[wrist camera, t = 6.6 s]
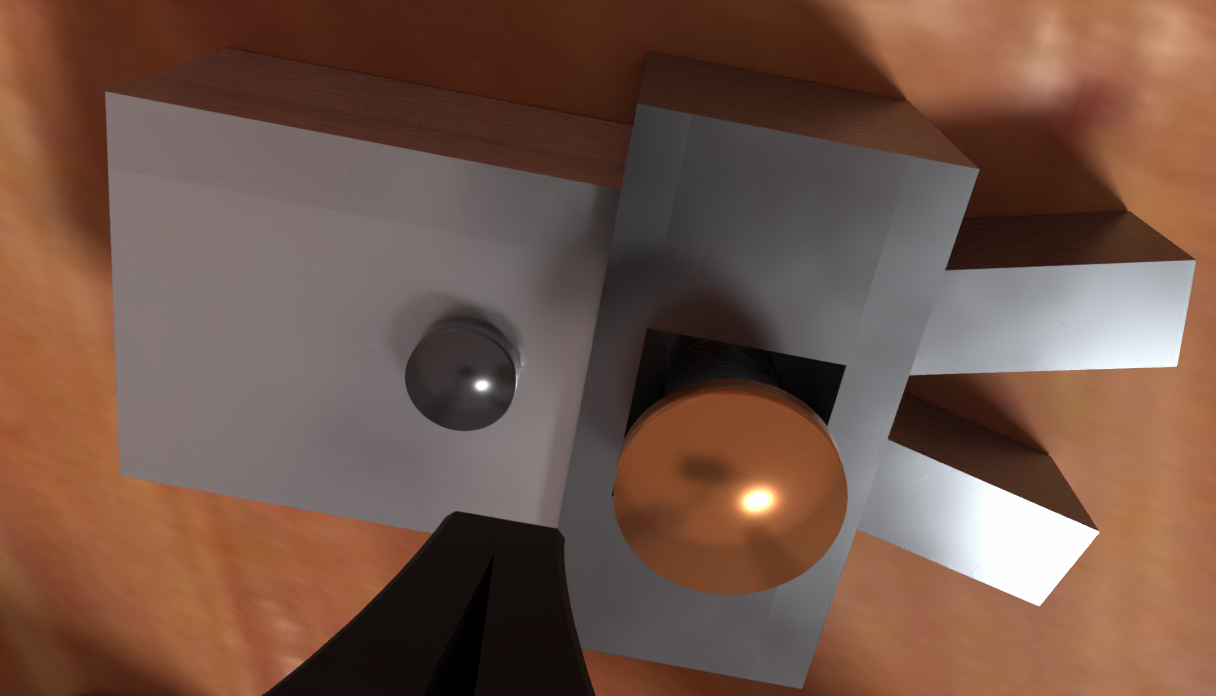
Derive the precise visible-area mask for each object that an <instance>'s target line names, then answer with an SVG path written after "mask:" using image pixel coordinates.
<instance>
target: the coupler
mask: <svg viewBox="0 0 1216 696" xmlns="http://www.w3.org/2000/svg"><path fill="white" fill-rule="evenodd" d="M979 170H980V169H979V168H978V167H977V166H976V165H975V164H974V163H973V162H971V161H970V160H969V159H968V158H967V157H966V156H965V155H964V154H963V153H962V152H961V151H960V150H959V149H958V148H957V147H956V146H955V145H954V144H953V143H952V142H951V141H950V140H949V139H948V138H947V137H945V136H944V135H943V134H942V133H941V132H940V131H939V130H938V129H937V128H936V127H935V126H934V125H933V124H932V123H931V122H930V121H929V120H928V119H927V118H926V117H925V116H924V115H923V114H922V113H920V112H919V111H918V110H917V109H916V108H915V107H914V106H913V105H912V104H911V103H910V102H909V101H906V100H901V99H896V98H891V97H885V96H880V95H875V94H870V93H865V92H859V91H854V90H849V89H844V88H839V87H833V86H828V85H823V84H818V83H813V82H807V81H802V80H797V79H792V78H787V77H781V76H776V75H771V74H766V73H761V72H755V71H750V70H745V69H740V68H735V67H729V66H724V65H719V64H714V63H709V62H703V61H698V60H693V59H688V58H683V57H678V56H672V55H667V54H662V53H657V52H652V51H648V53H647V58H646V63H645V68H644V73H643V78H642V83H641V88H640V93H639V98H638V103H637V108H636V113H635V119H634V124H633V129H632V135H631V140H630V145H629V151H628V156H627V161H626V167H625V172H624V177H623V183H622V188H621V193H620V199H619V204H618V209H617V215H616V220H615V226H614V231H613V236H612V242H611V247H610V252H609V258H608V263H607V268H606V274H605V279H604V284H603V290H602V295H601V300H600V306H599V311H598V316H597V322H596V327H595V332H594V338H593V343H592V348H591V354H590V359H589V364H588V370H587V375H586V380H585V386H584V391H583V397H582V402H581V407H580V413H579V418H578V423H577V429H576V434H575V439H574V445H573V450H572V455H571V461H570V466H569V471H568V477H567V482H566V487H565V493H564V498H563V503H562V509H561V514H560V519H559V525H558V530H559V531H560V532H561V534H562V535H563V536H564V537H565V545H564V558H565V572H566V580H567V586H568V592H569V598H570V604H571V609H572V614H573V618H574V623H575V627H576V630H577V634H578V638H579V642H580V646H581V649H586V650H592V651H597V652H602V653H608V654H613V655H619V656H624V657H630V658H635V659H640V660H646V661H651V662H657V663H662V664H668V665H673V666H678V667H684V668H689V669H695V670H700V671H706V672H711V673H717V674H722V675H727V676H733V677H738V678H744V679H749V680H755V681H760V682H765V683H771V684H776V685H782V686H787V687H793V688H798V689H802V688H803V685H804V682H805V679H806V676H807V673H808V670H809V667H810V664H811V661H812V659H813V656H814V653H815V650H816V647H817V644H818V641H819V638H820V635H821V632H822V629H823V626H824V623H825V620H826V618H827V615H828V612H829V609H830V606H831V603H832V600H833V597H834V594H835V591H836V588H837V585H838V582H839V579H840V577H841V574H842V571H843V568H844V565H845V562H846V559H847V556H848V553H849V550H850V547H851V544H852V541H853V538H854V536H855V533H856V530H857V529H858V530H861V531H863V532H865V533H868V534H870V535H873V536H875V537H877V538H880V539H882V540H884V541H887V542H889V543H891V544H894V545H896V546H899V547H901V548H903V549H906V550H908V551H910V552H913V553H915V554H917V555H920V556H922V557H925V558H927V559H929V560H932V561H934V562H936V563H939V564H941V565H943V566H946V567H948V568H950V569H953V570H955V571H958V572H960V573H962V574H965V575H967V576H969V577H972V578H974V579H976V580H979V581H981V582H984V583H986V584H988V585H991V586H993V587H995V588H998V589H1000V590H1002V591H1005V592H1007V593H1010V594H1012V595H1014V596H1017V597H1019V598H1021V599H1024V600H1026V601H1028V602H1031V603H1033V604H1036V605H1038V606H1040V605H1041V603H1042V602H1043V601H1044V600H1045V598H1046V597H1047V596H1048V595H1049V593H1050V592H1051V591H1052V590H1053V589H1054V587H1055V586H1056V585H1057V584H1058V582H1059V581H1060V580H1061V579H1062V577H1063V576H1064V575H1065V574H1066V573H1067V571H1068V570H1069V569H1070V568H1071V566H1072V565H1073V564H1074V563H1075V561H1076V560H1077V559H1078V558H1079V557H1080V555H1081V554H1082V553H1083V552H1084V550H1085V549H1086V548H1087V547H1088V545H1089V544H1090V543H1091V542H1092V541H1093V539H1094V538H1095V537H1096V536H1097V534H1098V533H1099V530H1098V529H1097V527H1096V526H1095V524H1094V523H1093V521H1092V520H1091V518H1090V516H1089V515H1088V513H1087V512H1086V510H1085V509H1084V507H1083V506H1082V504H1081V502H1080V501H1079V499H1078V498H1077V496H1076V495H1075V493H1074V492H1073V490H1072V488H1071V487H1070V485H1069V484H1068V482H1067V481H1066V479H1065V478H1064V476H1063V475H1062V473H1061V471H1060V470H1059V468H1058V467H1057V465H1056V464H1055V462H1054V461H1053V459H1052V457H1050V456H1048V455H1046V454H1044V453H1041V452H1039V451H1037V450H1035V449H1032V448H1030V447H1028V446H1026V445H1023V444H1021V443H1019V442H1017V441H1014V440H1012V439H1010V438H1007V437H1005V436H1003V435H1001V434H998V433H996V432H994V431H992V430H989V429H987V428H985V427H983V426H980V425H978V424H976V423H974V422H971V421H969V420H967V419H965V418H962V417H960V416H958V415H956V414H953V413H951V412H949V411H947V410H944V409H942V408H940V407H938V406H935V405H933V404H931V403H929V402H926V401H924V400H922V399H920V398H917V397H915V396H913V395H911V394H908V393H906V392H904V389H905V386H906V383H907V380H908V377H909V375H930V374H961V373H992V372H1023V371H1053V370H1084V369H1115V368H1145V367H1176V366H1177V363H1178V357H1179V352H1180V346H1181V341H1182V335H1183V330H1184V325H1185V319H1186V314H1187V308H1188V303H1189V297H1190V292H1191V286H1192V281H1193V275H1194V270H1195V264H1196V260H1195V259H1194V258H1193V257H1191V256H1190V255H1189V254H1187V253H1186V252H1185V251H1183V250H1182V249H1180V248H1179V247H1178V246H1176V245H1175V244H1174V243H1172V242H1171V241H1170V240H1168V239H1167V238H1165V237H1164V236H1163V235H1161V234H1160V233H1159V232H1157V231H1156V230H1155V229H1153V228H1152V227H1150V226H1149V225H1148V224H1146V223H1145V222H1144V221H1142V220H1141V219H1140V218H1138V217H1137V216H1135V215H1134V214H1133V213H1131V212H1130V211H1123V212H1101V213H1080V214H1058V215H1036V216H1014V217H992V218H971V219H963V216H964V213H965V211H966V208H967V205H968V202H969V199H970V196H971V193H972V190H973V187H974V184H975V181H976V178H977V175H978V172H979ZM682 334H683V335H688V336H693V337H699V338H704V339H709V340H714V341H720V342H725V343H730V344H736V345H741V346H746V347H752V348H757V349H762V350H767V351H771V354H772V358H773V362H774V367H775V373H776V378H777V383H778V388H779V389H782V390H784V391H786V392H788V393H790V394H792V395H793V396H795V397H797V398H798V399H800V400H801V401H802V402H804V403H805V404H807V405H808V406H809V407H810V408H811V409H812V410H813V411H814V412H815V413H817V414H818V415H819V417H820V418H821V419H822V420H823V422H824V423H825V424H826V425H827V427H828V429H829V431H830V432H831V434H832V436H833V437H834V440H835V442H836V445H837V448H838V450H839V454H840V458H841V461H842V465H843V468H844V472H845V477H846V481H847V490H848V502H847V511H846V515H845V519H844V523H843V525H842V527H841V530H840V532H839V535H838V536H837V538H836V540H835V541H834V543H833V545H832V546H831V547H830V549H829V550H828V551H827V552H826V554H825V555H824V556H823V557H822V558H821V559H820V560H819V561H818V562H817V563H816V564H815V565H814V566H812V567H811V568H810V569H808V570H807V571H806V572H804V573H803V574H801V575H800V576H798V577H796V578H794V579H793V580H791V581H789V582H787V583H784V584H782V585H780V586H777V587H774V588H771V589H768V590H764V591H760V592H755V593H749V594H738V595H719V594H711V593H704V592H700V591H696V590H692V589H689V588H686V587H683V586H680V585H678V584H675V583H673V582H671V581H669V580H667V579H665V578H664V577H662V576H661V575H659V574H657V573H656V572H654V571H653V570H652V569H651V568H649V567H648V566H647V565H646V564H645V563H643V562H642V561H641V560H640V558H639V557H638V556H637V555H636V554H635V553H634V552H633V550H632V549H631V548H630V546H629V545H628V543H627V542H626V540H625V538H624V536H623V534H622V532H621V530H620V528H619V525H618V522H617V519H616V514H615V508H614V485H615V476H616V468H617V460H618V456H619V452H620V449H621V446H622V444H623V442H624V439H625V437H626V435H627V433H628V432H629V430H630V429H631V427H632V426H633V424H634V423H635V422H636V420H637V419H638V418H639V417H640V416H641V415H642V414H643V413H644V412H645V411H646V410H647V409H648V408H649V407H650V406H652V405H653V404H654V403H655V402H657V401H658V400H660V399H661V398H663V397H664V396H665V368H666V360H667V356H668V353H669V351H670V349H671V347H672V345H673V344H674V342H675V341H676V340H677V339H678V337H679V336H680V335H682Z"/></svg>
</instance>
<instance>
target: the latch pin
mask: <svg viewBox="0 0 1216 696" xmlns="http://www.w3.org/2000/svg"><path fill="white" fill-rule="evenodd" d="M847 502H848V490H847V481H846V477H845V472H844V468H843V465H842V461H841V458H840V454H839V450H838V448H837V445H836V442H835V440H834V437H833V436H832V434H831V432H830V431H829V429H828V427H827V425H826V424H825V423H824V422H823V420H822V419H821V418H820V417H819V415H818V414H817V413H815V412H814V411H813V410H812V409H811V408H810V407H809V406H808V405H807V404H805V403H804V402H802V401H801V400H800V399H798V398H797V397H795V396H793V395H792V394H790V393H788V392H786V391H784V390H782V389H779V388H778V383H777V378H776V373H775V367H774V362H773V358H772V354H771V351H767V350H762V349H757V348H752V347H746V346H741V345H736V344H730V343H725V342H720V341H714V340H709V339H704V338H699V337H693V336H688V335H683V334H682V335H680V336H679V337H678V339H677V340H676V341H675V342H674V344H673V345H672V347H671V349H670V351H669V353H668V356H667V360H666V368H665V396H664V397H663V398H661V399H660V400H658V401H657V402H655V403H654V404H653V405H652V406H650V407H649V408H648V409H647V410H646V411H645V412H644V413H643V414H642V415H641V416H640V417H639V418H638V419H637V420H636V422H635V423H634V424H633V426H632V427H631V429H630V430H629V432H628V433H627V435H626V437H625V439H624V442H623V444H622V446H621V449H620V452H619V456H618V460H617V468H616V476H615V485H614V508H615V514H616V519H617V522H618V525H619V528H620V530H621V532H622V534H623V536H624V538H625V540H626V542H627V543H628V545H629V546H630V548H631V549H632V550H633V552H634V553H635V554H636V555H637V556H638V557H639V558H640V560H641V561H642V562H643V563H645V564H646V565H647V566H648V567H649V568H651V569H652V570H653V571H654V572H656V573H657V574H659V575H661V576H662V577H664V578H665V579H667V580H669V581H671V582H673V583H675V584H678V585H680V586H683V587H686V588H689V589H692V590H696V591H700V592H704V593H711V594H719V595H738V594H749V593H755V592H760V591H764V590H768V589H771V588H774V587H777V586H780V585H782V584H784V583H787V582H789V581H791V580H793V579H794V578H796V577H798V576H800V575H801V574H803V573H804V572H806V571H807V570H808V569H810V568H811V567H812V566H814V565H815V564H816V563H817V562H818V561H819V560H820V559H821V558H822V557H823V556H824V555H825V554H826V552H827V551H828V550H829V549H830V547H831V546H832V545H833V543H834V541H835V540H836V538H837V536H838V535H839V532H840V530H841V527H842V525H843V523H844V519H845V515H846V511H847Z"/></svg>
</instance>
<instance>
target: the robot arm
mask: <svg viewBox="0 0 1216 696" xmlns="http://www.w3.org/2000/svg"><path fill="white" fill-rule="evenodd" d="M564 545H565V537H564V536H563V535H562V534H561V532H560V531H559V530H558V528H552V527H546V526H541V525H535V524H529V523H523V522H518V521H512V520H506V519H500V518H495V517H489V516H483V515H477V514H472V513H466V512H460V511H454V512H453V513H451V514H450V515H448V516H446V517H445V518H444V520H443V521H442V522H441V524H440V525H439V526H438V528H437V529H436V530H435V532H434V533H433V534H432V535H431V537H430V538H429V539H428V540H427V541H426V543H425V544H424V545H423V546H422V547H421V549H420V550H419V551H418V552H417V553H416V554H415V555H414V557H413V558H412V559H411V560H410V561H409V562H408V563H407V564H406V565H405V567H404V568H403V569H402V570H401V571H400V572H399V573H398V574H397V575H396V576H395V577H394V578H393V579H392V580H391V581H390V582H389V583H388V584H387V585H386V586H385V588H384V589H383V590H382V591H381V592H380V593H379V594H378V595H377V596H376V597H375V598H374V599H373V600H372V601H371V602H370V603H369V604H368V605H367V606H366V607H365V608H364V609H363V610H362V611H361V612H360V613H359V614H358V615H357V616H355V617H354V618H353V619H352V620H351V621H350V622H349V623H348V624H347V625H346V626H345V627H343V628H342V629H341V630H340V631H339V632H338V633H337V634H336V635H334V636H333V637H332V638H331V639H330V640H329V641H328V642H327V643H325V644H324V645H323V646H322V647H321V648H320V649H319V650H318V651H316V652H315V653H314V654H313V655H312V656H311V657H310V658H309V659H307V660H306V661H305V662H304V663H303V664H301V665H300V666H299V667H298V668H296V669H295V670H294V671H293V672H292V673H290V674H289V675H288V676H287V677H285V678H284V679H283V680H282V681H280V682H279V683H278V684H276V685H275V686H274V687H273V688H271V689H270V690H269V691H267V692H266V693H265V694H263V695H262V696H596V695H595V693H594V690H593V687H592V684H591V681H590V677H589V674H588V671H587V668H586V664H585V661H584V657H583V653H582V649H581V646H580V642H579V638H578V634H577V630H576V627H575V623H574V618H573V614H572V609H571V604H570V598H569V592H568V586H567V580H566V572H565V558H564Z"/></svg>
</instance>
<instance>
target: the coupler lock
mask: <svg viewBox="0 0 1216 696" xmlns="http://www.w3.org/2000/svg"><path fill="white" fill-rule="evenodd" d="M105 100H106V126H107V153H108V179H109V206H110V232H111V258H112V285H113V311H114V337H115V364H116V390H117V416H118V443H119V469H120V476H125V477H131V478H136V479H141V480H147V481H152V482H158V483H163V484H168V485H174V486H179V487H185V488H190V489H195V490H201V491H206V492H212V493H217V494H222V495H228V496H233V497H239V498H244V499H249V500H255V501H260V502H266V503H271V504H276V505H282V506H287V507H293V508H298V509H303V510H309V511H314V512H320V513H325V514H330V515H336V516H341V517H347V518H352V519H357V520H363V521H368V522H374V523H379V524H384V525H390V526H395V527H401V528H406V529H411V530H417V531H422V532H428V533H434V532H435V530H436V529H437V528H438V526H439V525H440V524H441V522H442V521H443V520H444V518H445V517H446V516H448V515H450V514H451V513H453V512H454V511H460V512H466V513H472V514H477V515H483V516H489V517H495V518H500V519H506V520H512V521H518V522H523V523H529V524H535V525H541V526H546V527H552V528H558V525H559V519H560V514H561V509H562V503H563V498H564V493H565V487H566V482H567V477H568V471H569V466H570V461H571V455H572V450H573V445H574V439H575V434H576V429H577V423H578V418H579V413H580V407H581V402H582V397H583V391H584V386H585V380H586V375H587V370H588V364H589V359H590V354H591V348H592V343H593V338H594V332H595V327H596V322H597V316H598V311H599V306H600V300H601V295H602V290H603V284H604V279H605V274H606V268H607V263H608V258H609V252H610V247H611V242H612V236H613V231H614V226H615V220H616V215H617V209H618V204H619V199H620V193H621V188H622V183H623V177H624V172H625V167H626V161H627V156H628V151H629V145H630V140H631V135H632V129H633V125H627V124H622V123H617V122H612V121H607V120H601V119H596V118H591V117H586V116H580V115H575V114H570V113H565V112H560V111H554V110H549V109H544V108H539V107H533V106H528V105H523V104H518V103H513V102H507V101H502V100H497V99H492V98H486V97H481V96H476V95H471V94H466V93H460V92H455V91H450V90H445V89H439V88H434V87H429V86H424V85H418V84H413V83H408V82H403V81H398V80H392V79H387V78H382V77H377V76H371V75H366V74H361V73H356V72H351V71H345V70H340V69H335V68H330V67H324V66H319V65H314V64H309V63H304V62H298V61H293V60H288V59H283V58H277V57H272V56H267V55H262V54H257V53H251V52H246V51H241V50H236V49H230V48H224V49H221V50H218V51H216V52H213V53H210V54H207V55H204V56H202V57H199V58H196V59H193V60H191V61H188V62H185V63H182V64H180V65H177V66H174V67H171V68H169V69H166V70H163V71H160V72H158V73H155V74H152V75H149V76H147V77H144V78H141V79H138V80H135V81H133V82H130V83H127V84H124V85H122V86H119V87H116V88H113V89H111V90H108V91H105Z"/></svg>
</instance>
